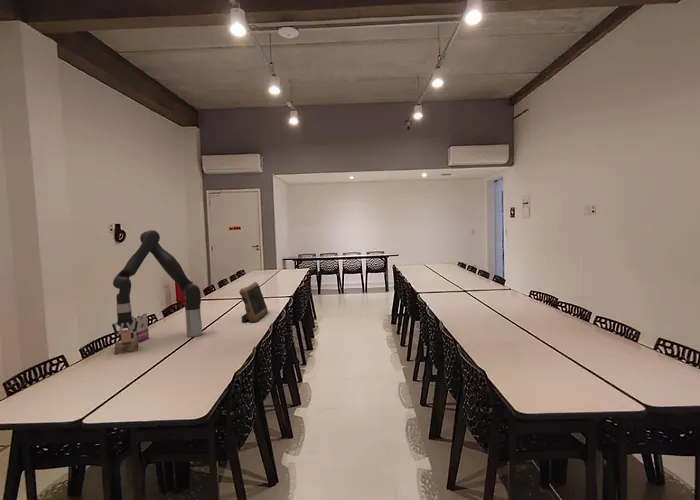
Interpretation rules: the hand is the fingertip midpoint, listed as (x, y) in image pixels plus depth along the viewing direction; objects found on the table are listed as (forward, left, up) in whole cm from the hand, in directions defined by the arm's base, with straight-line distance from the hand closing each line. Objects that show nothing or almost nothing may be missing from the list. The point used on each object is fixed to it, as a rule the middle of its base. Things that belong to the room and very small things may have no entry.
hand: (126, 339), depth 261 cm
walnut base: (0, 0, -6) cm, 6 cm away
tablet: (-85, -40, -7) cm, 94 cm away
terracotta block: (0, 0, -1) cm, 1 cm away
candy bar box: (-7, -19, -7) cm, 21 cm away
